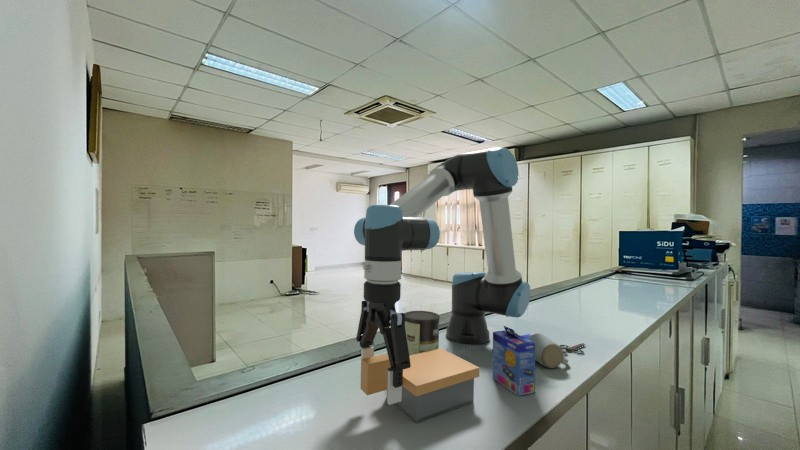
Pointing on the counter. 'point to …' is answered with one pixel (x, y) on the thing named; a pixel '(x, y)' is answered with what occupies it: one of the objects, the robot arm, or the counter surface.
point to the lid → (418, 372)
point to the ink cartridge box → (514, 361)
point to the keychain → (572, 348)
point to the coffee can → (422, 331)
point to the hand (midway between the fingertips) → (379, 389)
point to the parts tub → (436, 400)
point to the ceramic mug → (547, 351)
